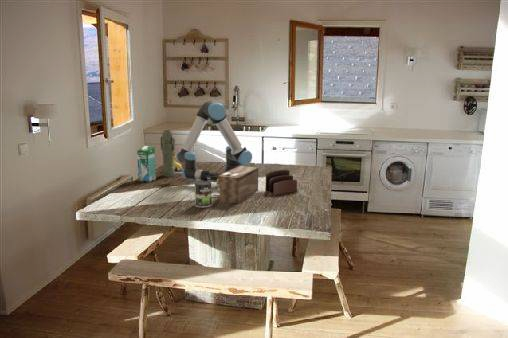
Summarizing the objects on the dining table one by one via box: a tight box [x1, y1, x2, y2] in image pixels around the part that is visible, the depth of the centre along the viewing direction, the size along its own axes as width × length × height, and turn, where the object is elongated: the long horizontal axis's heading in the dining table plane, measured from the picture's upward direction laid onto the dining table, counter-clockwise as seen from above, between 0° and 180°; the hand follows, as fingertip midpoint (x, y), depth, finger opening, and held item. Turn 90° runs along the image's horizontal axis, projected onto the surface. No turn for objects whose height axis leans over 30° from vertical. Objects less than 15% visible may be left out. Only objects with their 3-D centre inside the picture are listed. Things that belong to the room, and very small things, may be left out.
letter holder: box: [264, 169, 298, 196], centre depth 313 cm, size 10×20×14 cm, turn 123°
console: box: [217, 165, 259, 204], centre depth 303 cm, size 14×33×17 cm, turn 158°
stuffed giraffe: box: [173, 151, 185, 174], centre depth 371 cm, size 16×18×16 cm
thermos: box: [160, 129, 176, 178], centre depth 353 cm, size 9×12×35 cm
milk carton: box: [136, 145, 157, 183], centre depth 339 cm, size 9×9×25 cm
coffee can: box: [194, 180, 212, 208], centre depth 281 cm, size 10×10×14 cm
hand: (233, 178), depth 315 cm, fingers closed
